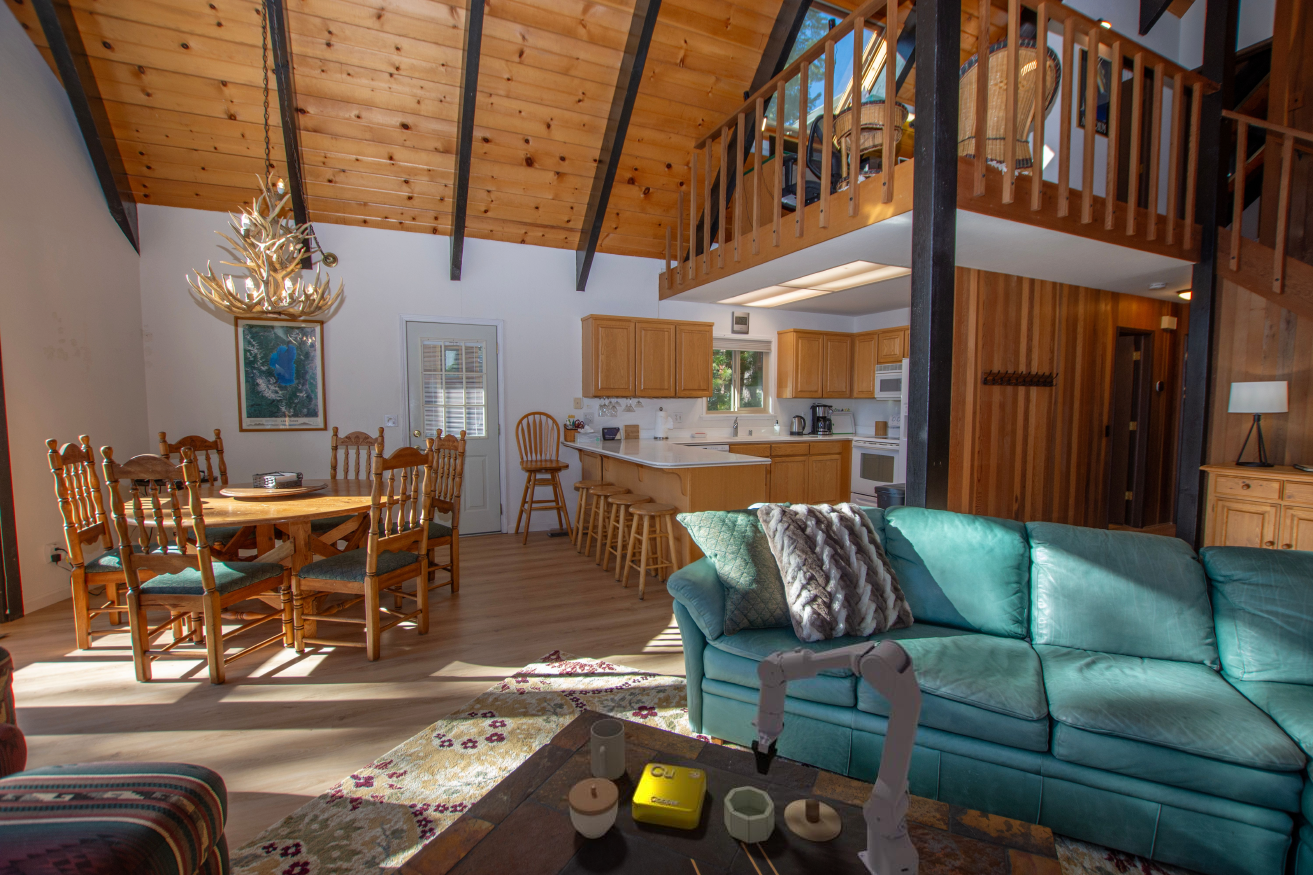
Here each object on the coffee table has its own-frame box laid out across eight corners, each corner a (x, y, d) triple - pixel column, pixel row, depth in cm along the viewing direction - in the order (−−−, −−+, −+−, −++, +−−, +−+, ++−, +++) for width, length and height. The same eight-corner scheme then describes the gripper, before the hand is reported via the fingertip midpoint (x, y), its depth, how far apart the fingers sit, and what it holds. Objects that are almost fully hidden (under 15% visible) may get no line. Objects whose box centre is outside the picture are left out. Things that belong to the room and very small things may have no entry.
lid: (852, 837, 119) (852, 817, 119) (800, 847, 117) (800, 827, 116) (823, 798, 131) (823, 780, 131) (775, 807, 128) (775, 789, 128)
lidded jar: (611, 850, 116) (610, 806, 116) (562, 842, 118) (561, 799, 118) (624, 813, 127) (623, 773, 126) (579, 807, 129) (578, 767, 128)
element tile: (629, 821, 125) (629, 800, 124) (647, 777, 139) (646, 759, 139) (696, 832, 121) (696, 811, 121) (707, 786, 136) (707, 767, 135)
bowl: (780, 837, 119) (780, 814, 119) (735, 845, 117) (735, 822, 116) (761, 804, 129) (761, 783, 128) (719, 812, 126) (719, 790, 126)
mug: (595, 758, 146) (594, 717, 146) (627, 760, 145) (627, 719, 145) (584, 789, 135) (583, 745, 134) (619, 792, 134) (618, 747, 133)
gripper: (759, 685, 135) (754, 738, 136) (746, 719, 121) (741, 777, 123) (789, 693, 132) (783, 746, 134) (779, 729, 119) (773, 787, 120)
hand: (765, 762), depth 128 cm, fingers open, 7 cm apart
